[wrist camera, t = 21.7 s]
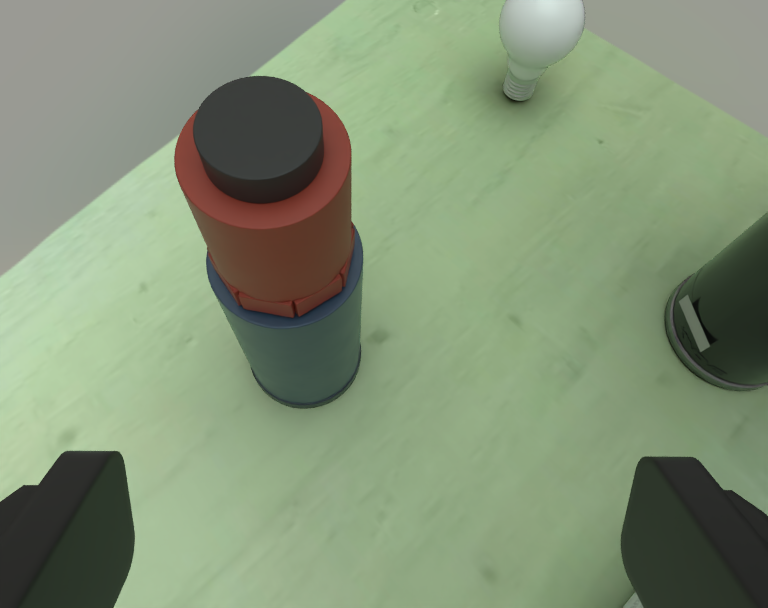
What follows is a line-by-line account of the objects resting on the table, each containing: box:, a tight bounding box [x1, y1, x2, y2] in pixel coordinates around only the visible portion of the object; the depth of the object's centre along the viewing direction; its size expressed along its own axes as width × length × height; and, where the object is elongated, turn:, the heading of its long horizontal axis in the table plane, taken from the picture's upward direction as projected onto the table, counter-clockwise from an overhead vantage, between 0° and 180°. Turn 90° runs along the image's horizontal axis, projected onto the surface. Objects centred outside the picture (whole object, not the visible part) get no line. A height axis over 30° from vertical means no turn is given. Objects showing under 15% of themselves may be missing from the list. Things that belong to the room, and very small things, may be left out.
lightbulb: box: [499, 0, 585, 101], centre depth 50 cm, size 6×6×11 cm
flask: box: [206, 226, 363, 408], centre depth 37 cm, size 8×8×17 cm
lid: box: [174, 76, 355, 318], centre depth 26 cm, size 6×6×10 cm
